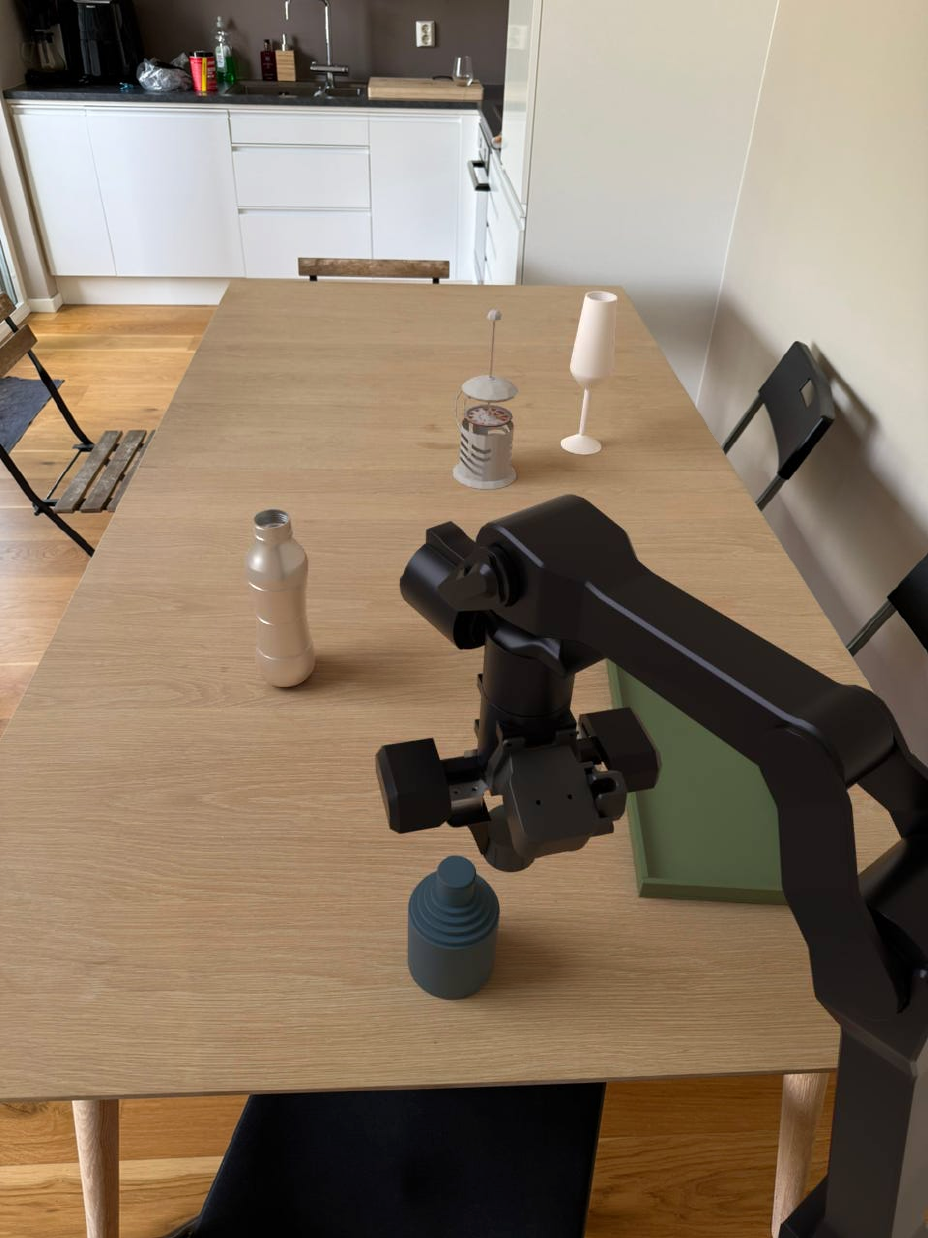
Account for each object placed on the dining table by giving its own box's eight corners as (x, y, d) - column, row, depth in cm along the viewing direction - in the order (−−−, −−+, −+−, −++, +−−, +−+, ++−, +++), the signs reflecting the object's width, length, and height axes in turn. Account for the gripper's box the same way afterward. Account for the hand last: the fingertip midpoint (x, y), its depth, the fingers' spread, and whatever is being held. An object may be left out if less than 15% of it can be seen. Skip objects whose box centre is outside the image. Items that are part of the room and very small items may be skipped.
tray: (813, 906, 77) (820, 893, 76) (638, 896, 77) (642, 883, 76) (731, 648, 105) (735, 635, 104) (603, 641, 105) (605, 627, 104)
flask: (507, 984, 70) (518, 897, 63) (422, 1011, 68) (425, 924, 61) (476, 911, 75) (484, 823, 68) (397, 933, 73) (396, 845, 66)
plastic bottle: (248, 690, 96) (226, 532, 83) (269, 651, 101) (251, 497, 89) (306, 699, 95) (292, 541, 83) (324, 658, 100) (314, 505, 88)
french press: (480, 495, 131) (490, 327, 115) (432, 464, 138) (436, 302, 122) (529, 477, 136) (545, 313, 120) (481, 448, 143) (490, 290, 127)
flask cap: (477, 831, 67) (479, 806, 65) (529, 825, 67) (532, 800, 66) (487, 876, 64) (489, 851, 62) (542, 869, 64) (545, 844, 63)
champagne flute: (555, 449, 144) (572, 298, 129) (567, 432, 149) (585, 286, 134) (595, 458, 142) (617, 306, 127) (606, 441, 147) (629, 293, 132)
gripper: (407, 809, 47) (407, 970, 57) (722, 754, 52) (673, 913, 61) (371, 674, 56) (376, 834, 65) (644, 636, 60) (611, 792, 70)
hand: (509, 844), depth 65 cm, fingers closed on flask cap, 4 cm apart
